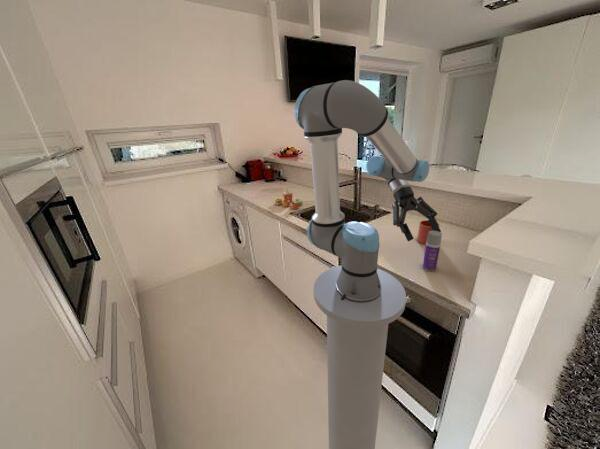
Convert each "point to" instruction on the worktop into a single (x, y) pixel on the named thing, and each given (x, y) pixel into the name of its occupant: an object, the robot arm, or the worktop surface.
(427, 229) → the cup
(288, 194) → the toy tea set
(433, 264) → the container
